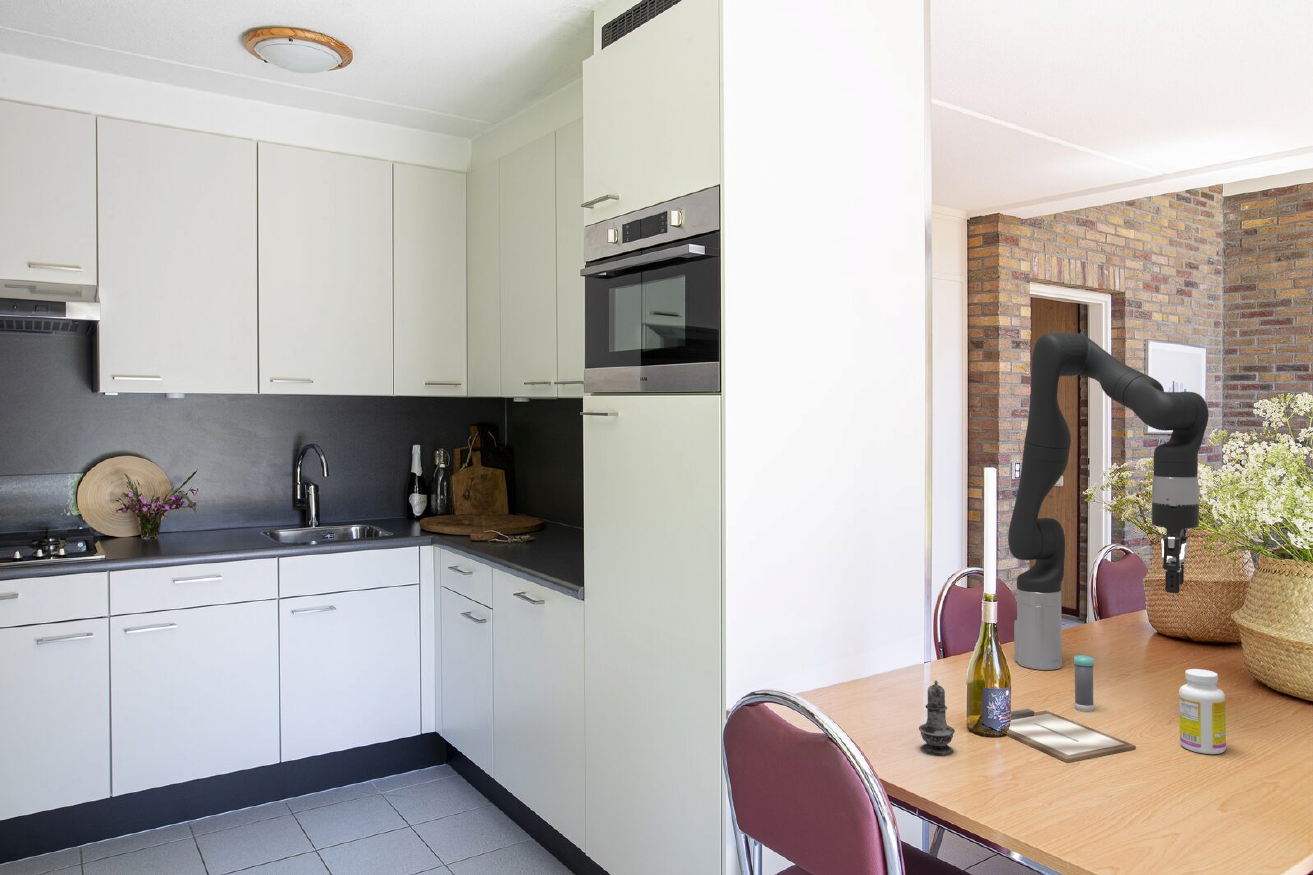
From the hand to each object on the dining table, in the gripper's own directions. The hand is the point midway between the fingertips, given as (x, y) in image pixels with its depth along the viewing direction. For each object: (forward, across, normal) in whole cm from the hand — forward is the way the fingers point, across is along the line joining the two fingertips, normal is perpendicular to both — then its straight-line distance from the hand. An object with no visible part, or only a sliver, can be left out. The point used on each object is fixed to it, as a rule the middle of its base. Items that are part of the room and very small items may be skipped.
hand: (1174, 588), depth 164 cm
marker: (+24, +3, -15) cm, 29 cm away
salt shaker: (+24, +38, -32) cm, 56 cm away
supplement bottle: (+24, +14, +5) cm, 29 cm away
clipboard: (+24, +21, -16) cm, 36 cm away
